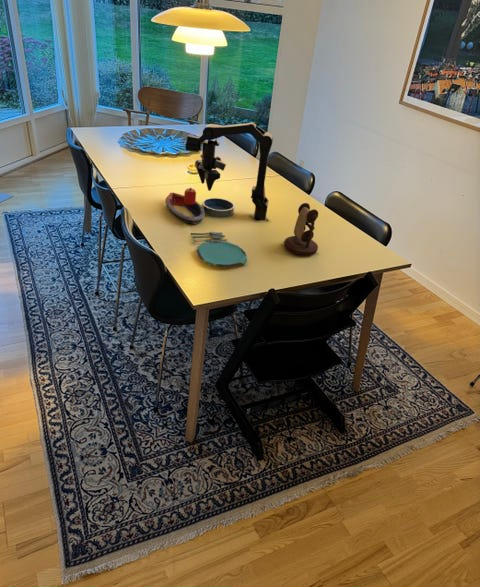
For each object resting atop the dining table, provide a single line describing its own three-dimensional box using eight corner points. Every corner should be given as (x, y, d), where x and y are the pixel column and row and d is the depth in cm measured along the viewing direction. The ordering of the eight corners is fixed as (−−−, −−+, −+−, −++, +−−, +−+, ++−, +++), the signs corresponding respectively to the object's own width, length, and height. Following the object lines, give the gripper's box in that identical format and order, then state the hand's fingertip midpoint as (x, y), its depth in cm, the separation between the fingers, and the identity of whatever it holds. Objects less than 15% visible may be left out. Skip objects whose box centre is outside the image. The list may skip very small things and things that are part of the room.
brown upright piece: (277, 242, 198) (285, 200, 187) (305, 240, 203) (315, 198, 193) (293, 258, 187) (303, 214, 176) (323, 255, 193) (334, 212, 182)
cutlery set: (204, 271, 169) (204, 266, 168) (185, 235, 192) (185, 230, 191) (252, 268, 176) (253, 263, 175) (229, 233, 199) (229, 229, 197)
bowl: (238, 217, 215) (239, 209, 213) (208, 219, 209) (208, 211, 207) (226, 204, 226) (227, 197, 224) (197, 206, 220) (198, 198, 218)
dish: (179, 228, 197) (180, 218, 194) (158, 201, 219) (158, 191, 216) (211, 226, 203) (212, 215, 200) (188, 199, 225) (188, 190, 223)
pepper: (196, 204, 210) (198, 189, 206) (185, 204, 208) (186, 190, 204) (193, 199, 214) (194, 185, 210) (182, 200, 212) (183, 185, 208)
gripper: (232, 160, 199) (229, 193, 208) (217, 147, 213) (215, 179, 222) (209, 160, 195) (206, 194, 204) (195, 147, 209) (193, 180, 218)
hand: (206, 186), depth 212 cm, fingers open, 9 cm apart
